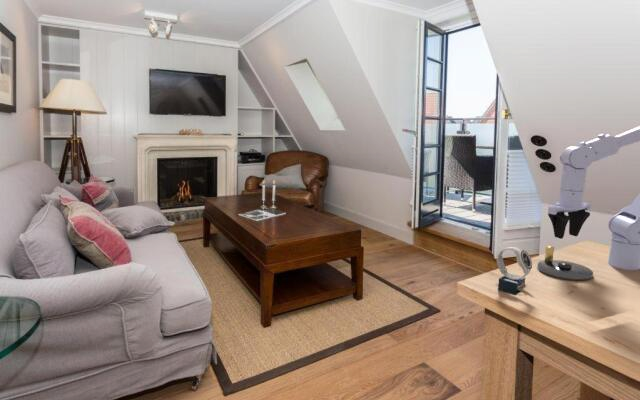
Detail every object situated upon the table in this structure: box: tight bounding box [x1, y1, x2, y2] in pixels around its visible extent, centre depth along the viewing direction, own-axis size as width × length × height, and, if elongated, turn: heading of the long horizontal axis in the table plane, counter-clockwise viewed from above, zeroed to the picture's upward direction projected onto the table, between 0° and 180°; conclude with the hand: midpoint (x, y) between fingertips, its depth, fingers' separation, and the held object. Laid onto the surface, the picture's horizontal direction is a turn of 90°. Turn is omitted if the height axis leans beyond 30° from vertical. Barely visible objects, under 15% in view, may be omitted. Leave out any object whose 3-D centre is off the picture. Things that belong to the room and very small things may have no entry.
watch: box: [496, 246, 533, 296], centre depth 102 cm, size 6×8×11 cm
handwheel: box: [536, 245, 594, 282], centre depth 111 cm, size 13×13×6 cm
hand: (566, 236), depth 117 cm, fingers open, 5 cm apart
